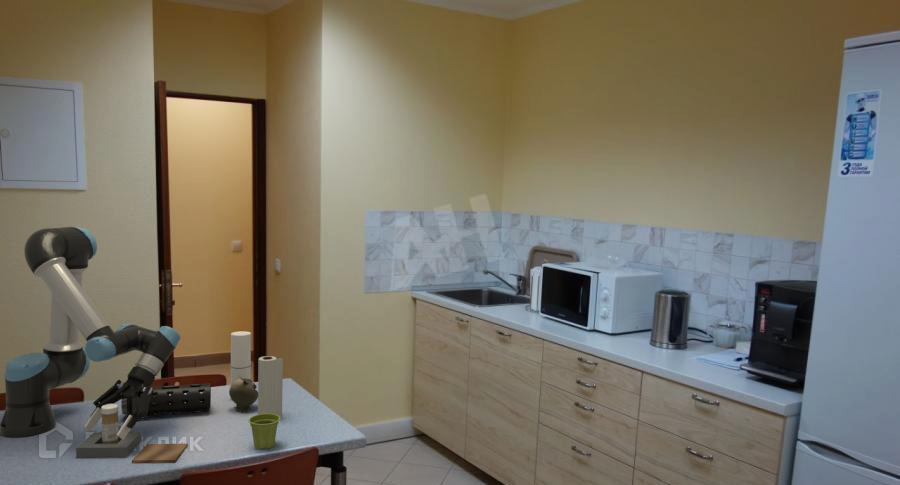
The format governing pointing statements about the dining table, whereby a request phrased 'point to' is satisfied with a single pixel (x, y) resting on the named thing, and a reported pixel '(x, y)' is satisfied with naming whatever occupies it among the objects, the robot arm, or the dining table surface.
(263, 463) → the dining table surface
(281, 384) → the paper towel roll
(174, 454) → the pad
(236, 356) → the cylindrical container
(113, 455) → the frame
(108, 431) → the sprinkles bottle
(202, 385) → the muzzle brake
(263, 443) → the plant pot
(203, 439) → the dining table surface
